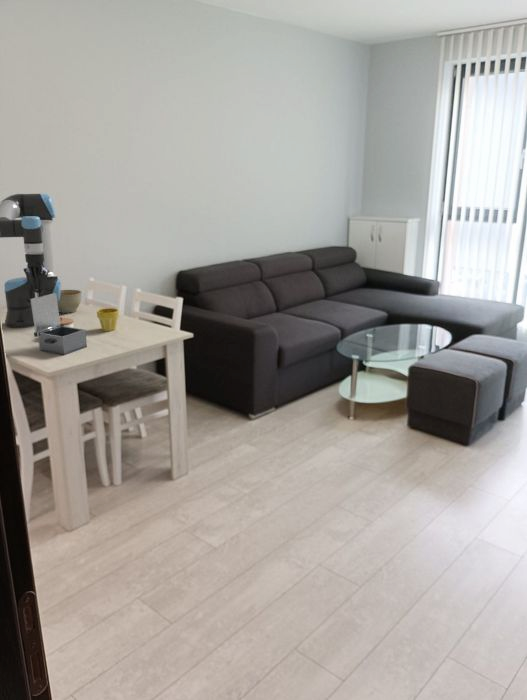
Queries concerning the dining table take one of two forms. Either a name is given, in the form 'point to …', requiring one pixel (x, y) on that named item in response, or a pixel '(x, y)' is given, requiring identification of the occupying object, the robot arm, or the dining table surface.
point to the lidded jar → (67, 322)
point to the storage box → (62, 340)
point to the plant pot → (108, 318)
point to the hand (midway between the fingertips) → (39, 306)
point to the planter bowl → (69, 301)
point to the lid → (45, 312)
